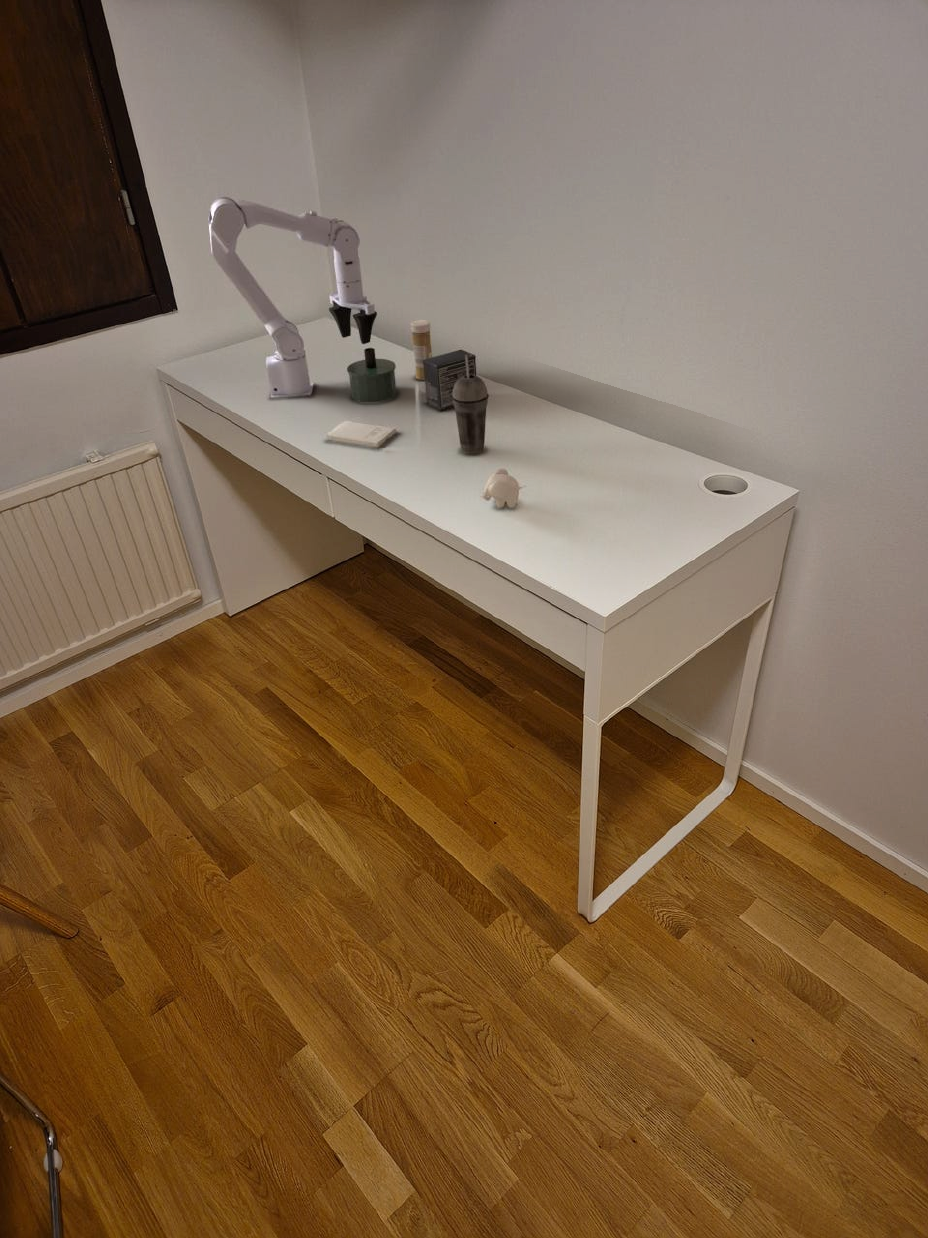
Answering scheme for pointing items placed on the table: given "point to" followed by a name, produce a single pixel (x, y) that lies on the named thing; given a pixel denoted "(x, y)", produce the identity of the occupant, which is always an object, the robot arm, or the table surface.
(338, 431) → the hard drive
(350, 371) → the lid
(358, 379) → the green faceted bucket
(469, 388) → the beverage cup
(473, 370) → the small box
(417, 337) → the sprinkles bottle
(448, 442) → the table surface
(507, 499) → the elephant figurine
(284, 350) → the robot arm
